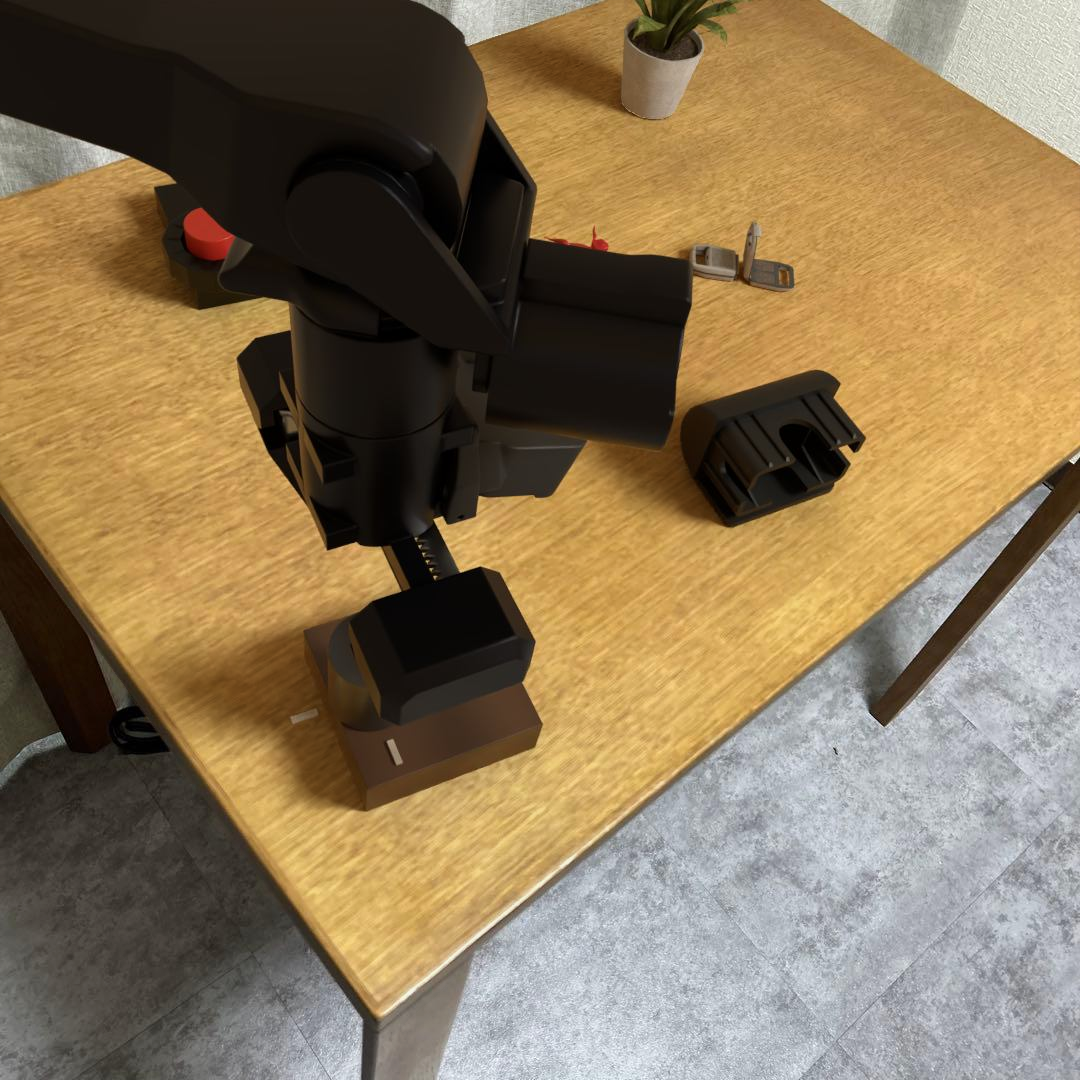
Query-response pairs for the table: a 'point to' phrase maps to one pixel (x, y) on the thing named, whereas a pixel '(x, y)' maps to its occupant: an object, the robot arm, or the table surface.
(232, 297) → the black rectangular slab
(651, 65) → the house plant
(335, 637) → the dial knob
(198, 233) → the button
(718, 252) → the strap clip
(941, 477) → the table surface
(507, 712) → the knob panel
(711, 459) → the end cap
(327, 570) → the table surface
